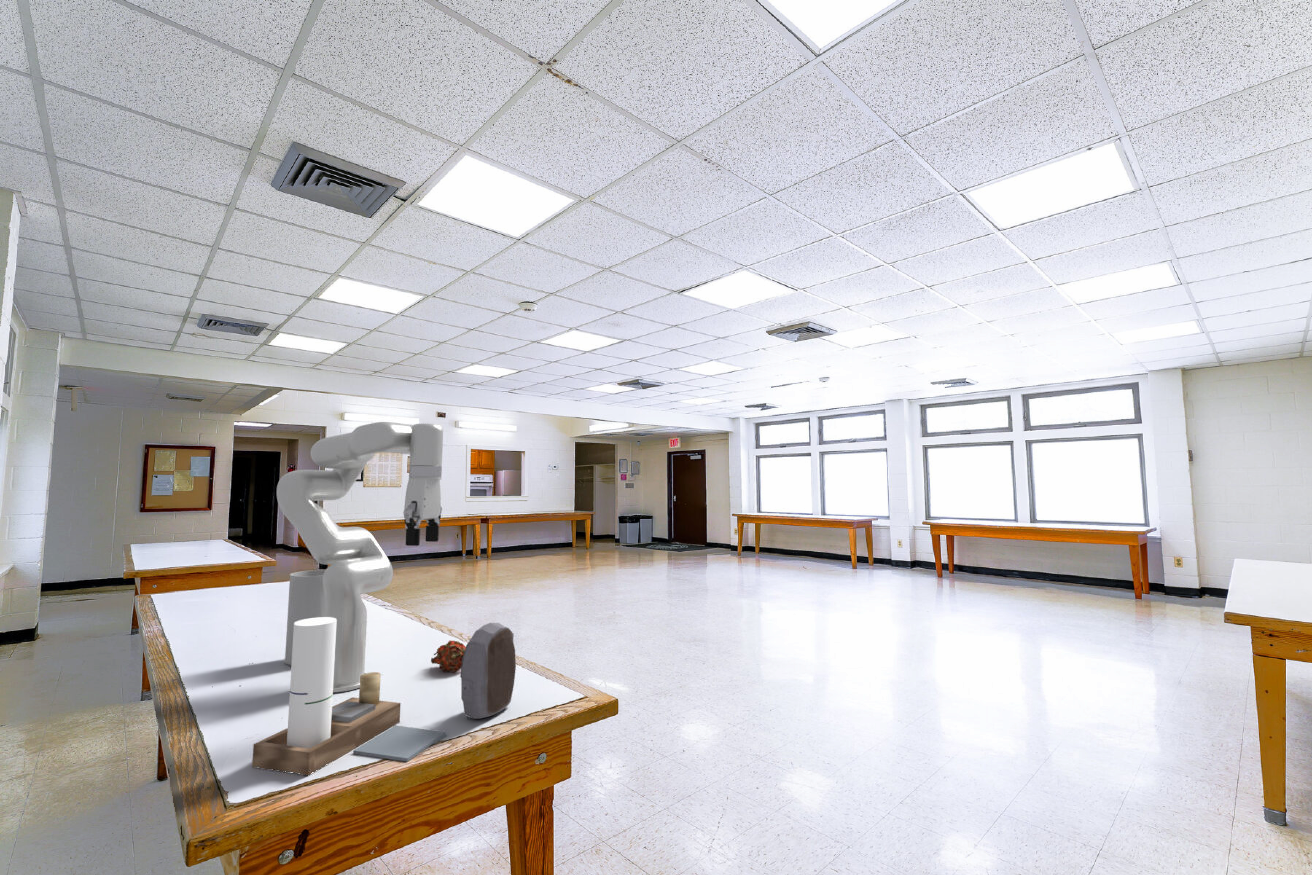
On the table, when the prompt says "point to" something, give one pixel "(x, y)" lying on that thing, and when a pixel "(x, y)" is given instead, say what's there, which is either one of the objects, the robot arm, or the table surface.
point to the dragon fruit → (449, 656)
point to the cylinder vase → (304, 602)
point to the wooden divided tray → (333, 732)
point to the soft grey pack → (488, 671)
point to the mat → (400, 743)
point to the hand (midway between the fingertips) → (422, 543)
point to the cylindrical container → (311, 682)
